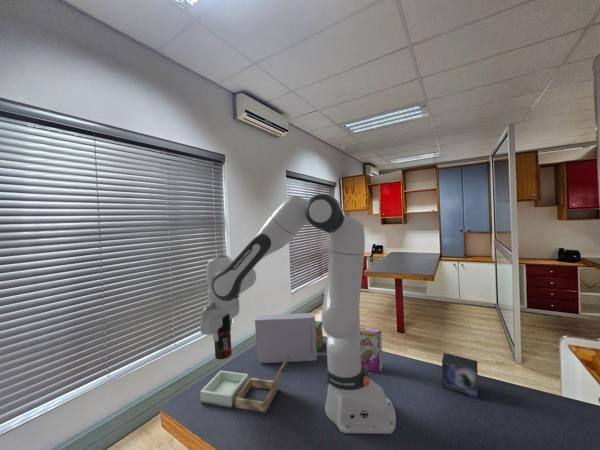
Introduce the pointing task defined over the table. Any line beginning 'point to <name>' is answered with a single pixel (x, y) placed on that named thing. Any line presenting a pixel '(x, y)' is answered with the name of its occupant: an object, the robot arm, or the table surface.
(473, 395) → the small box
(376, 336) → the candy bar box
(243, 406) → the frame
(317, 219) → the robot arm
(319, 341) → the chalk box
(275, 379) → the beige flat board
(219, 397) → the tray
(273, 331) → the game console
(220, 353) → the deodorant
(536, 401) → the table surface
